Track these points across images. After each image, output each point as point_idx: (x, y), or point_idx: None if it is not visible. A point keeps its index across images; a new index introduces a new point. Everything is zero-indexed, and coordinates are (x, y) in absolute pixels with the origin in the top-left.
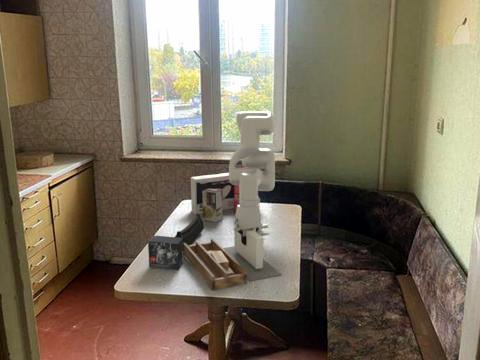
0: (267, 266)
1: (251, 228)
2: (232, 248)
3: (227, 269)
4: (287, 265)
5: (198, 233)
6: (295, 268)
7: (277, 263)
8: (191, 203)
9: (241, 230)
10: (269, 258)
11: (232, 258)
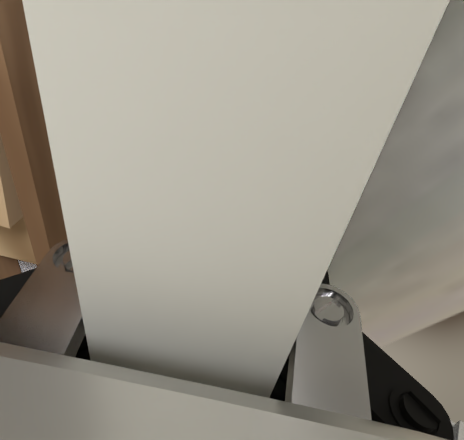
0: None
1: (296, 391)
2: None
3: (22, 223)
4: (412, 296)
5: None
6: (409, 333)
7: (393, 252)
8: None
9: (35, 325)
10: (428, 170)
11: (35, 230)
